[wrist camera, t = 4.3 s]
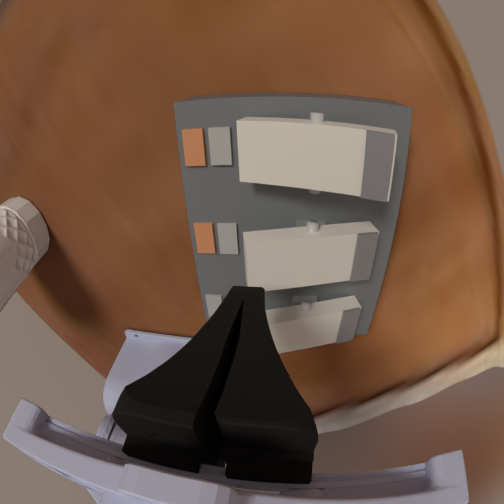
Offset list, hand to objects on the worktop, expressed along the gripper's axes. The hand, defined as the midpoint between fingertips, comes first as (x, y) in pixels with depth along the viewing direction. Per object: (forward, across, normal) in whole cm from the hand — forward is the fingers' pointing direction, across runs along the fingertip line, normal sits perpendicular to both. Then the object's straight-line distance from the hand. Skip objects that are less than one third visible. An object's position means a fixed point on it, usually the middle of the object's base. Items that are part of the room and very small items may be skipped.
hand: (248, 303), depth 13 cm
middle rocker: (+4, -3, 0) cm, 5 cm away
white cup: (+9, +23, +1) cm, 25 cm away
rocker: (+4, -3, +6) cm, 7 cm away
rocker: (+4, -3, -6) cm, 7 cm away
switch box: (+9, -2, 0) cm, 9 cm away
